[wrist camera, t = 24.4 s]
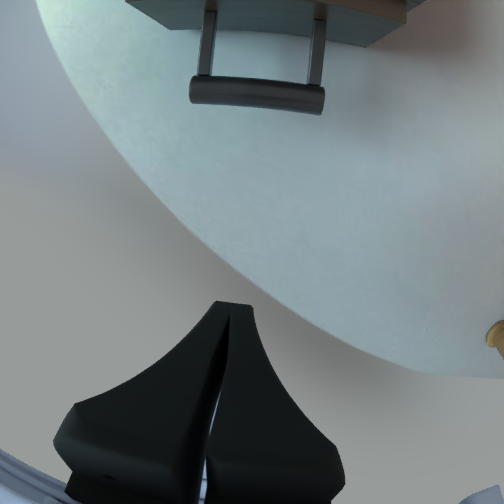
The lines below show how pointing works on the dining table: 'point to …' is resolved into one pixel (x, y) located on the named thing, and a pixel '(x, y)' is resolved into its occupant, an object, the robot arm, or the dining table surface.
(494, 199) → the dining table surface
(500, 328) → the flanged wooden peg
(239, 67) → the dining table surface
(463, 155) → the dining table surface
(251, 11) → the drawer
